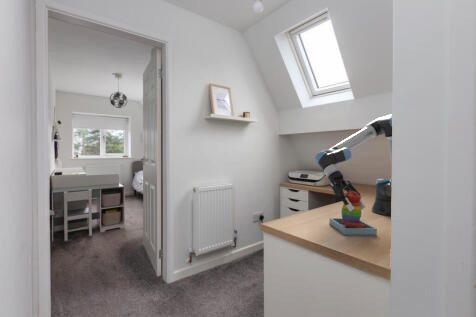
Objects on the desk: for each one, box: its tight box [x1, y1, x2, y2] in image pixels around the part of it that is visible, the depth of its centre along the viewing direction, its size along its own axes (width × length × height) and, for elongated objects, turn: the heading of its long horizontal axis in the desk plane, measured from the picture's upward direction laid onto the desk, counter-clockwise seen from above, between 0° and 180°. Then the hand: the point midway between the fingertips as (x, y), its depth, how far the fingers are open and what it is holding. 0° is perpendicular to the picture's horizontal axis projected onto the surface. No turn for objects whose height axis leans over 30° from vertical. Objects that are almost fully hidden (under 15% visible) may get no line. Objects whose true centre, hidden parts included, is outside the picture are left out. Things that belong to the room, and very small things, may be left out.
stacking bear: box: [341, 190, 365, 228], centre depth 120 cm, size 11×10×18 cm
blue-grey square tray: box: [328, 217, 378, 237], centre depth 121 cm, size 16×17×4 cm
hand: (357, 209), depth 117 cm, fingers closed on stacking bear, 8 cm apart
